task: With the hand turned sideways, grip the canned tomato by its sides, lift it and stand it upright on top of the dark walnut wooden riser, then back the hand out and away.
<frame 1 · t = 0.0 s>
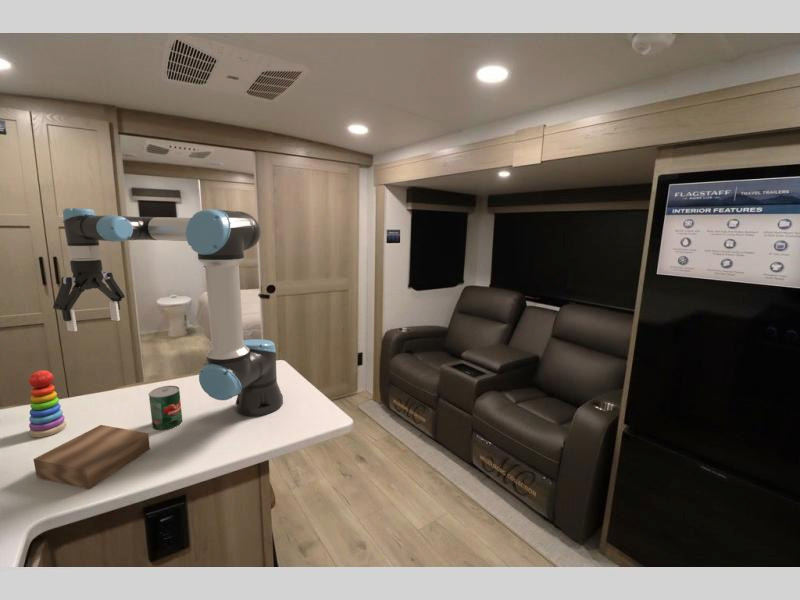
hand: (95, 325, 118), 28 cm above the table, tool pointing down, fingers open, 13 cm apart
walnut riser: (97, 462, 94), on the table
stacking toy: (48, 431, 108), on the table
canned tomato: (168, 424, 113), on the table
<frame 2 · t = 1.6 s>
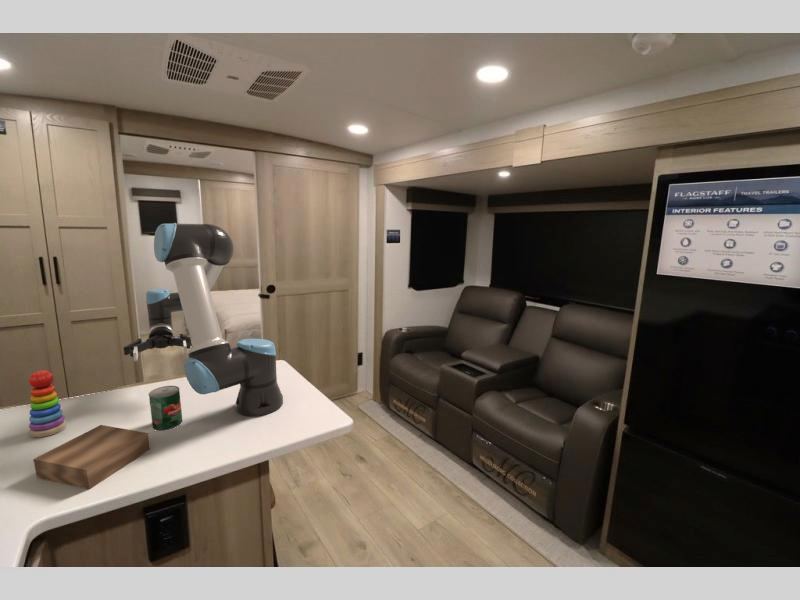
hand: (161, 353, 117), 20 cm above the table, tool horizontal, fingers open, 13 cm apart
nothing on the table moved.
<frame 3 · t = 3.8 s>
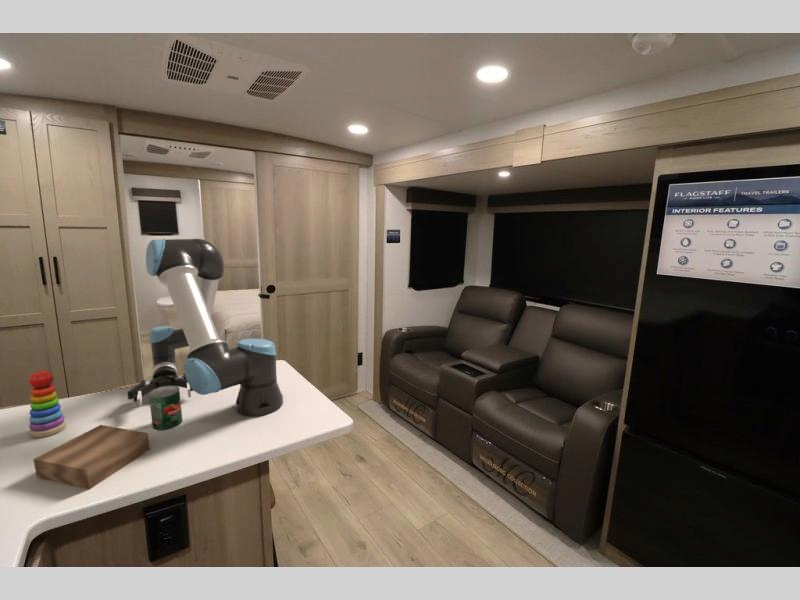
hand: (164, 398, 117), 6 cm above the table, tool horizontal, fingers open, 13 cm apart
nothing on the table moved.
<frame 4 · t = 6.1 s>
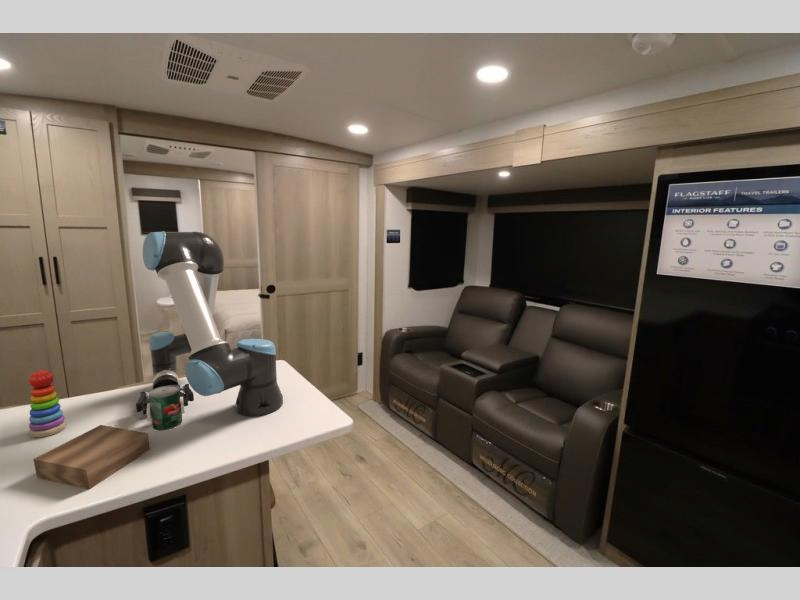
hand: (166, 412, 108), 6 cm above the table, tool horizontal, fingers closed on canned tomato, 8 cm apart
canned tomato: (168, 424, 113), on the table, touching gripper
everything else where it was.
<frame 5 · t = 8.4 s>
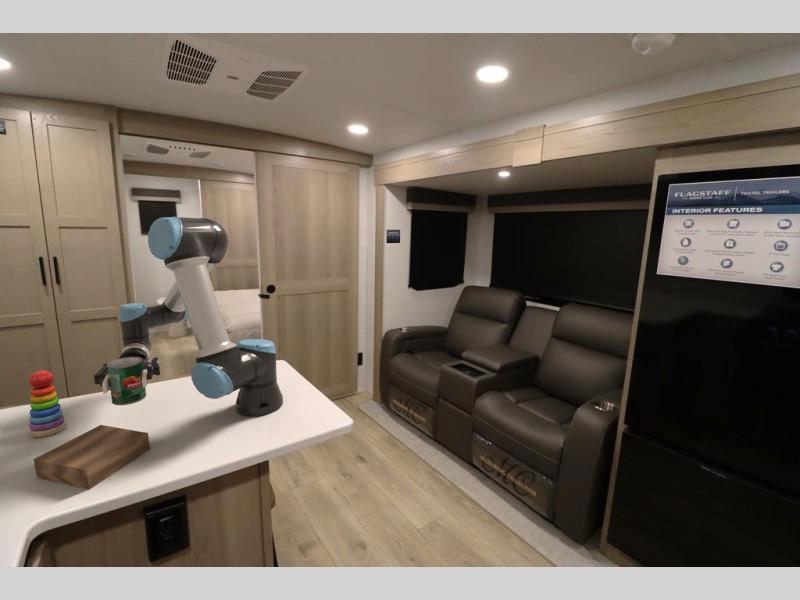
hand: (124, 385, 98), 18 cm above the table, tool horizontal, fingers closed on canned tomato, 8 cm apart
canned tomato: (129, 399, 103), point 12 cm above the table, touching gripper
everything else where it was.
when the fingers open (12 cm above the table, at t = 10.5 s): canned tomato drops 1 cm, resting on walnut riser.
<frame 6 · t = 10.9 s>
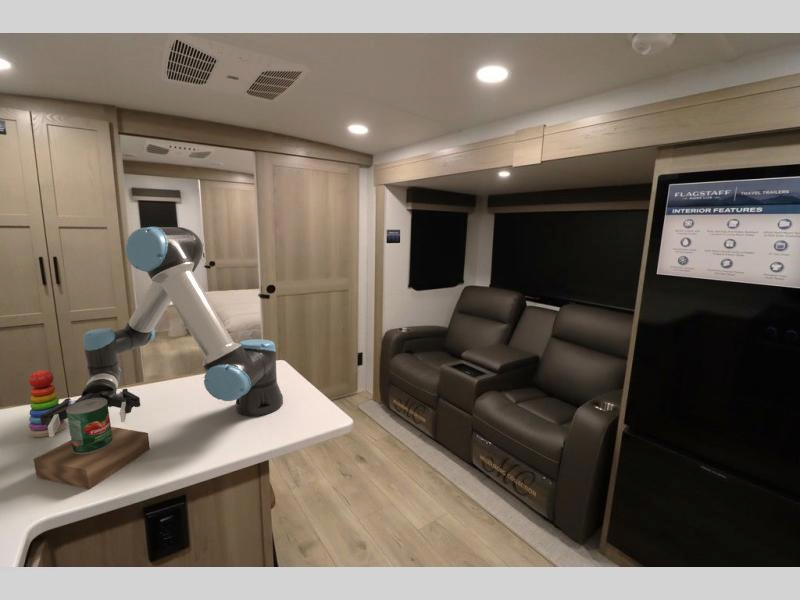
hand: (87, 424, 89), 12 cm above the table, tool horizontal, fingers open, 13 cm apart
canned tomato: (93, 445, 93), point 5 cm above the table, touching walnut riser
everything else where it was.
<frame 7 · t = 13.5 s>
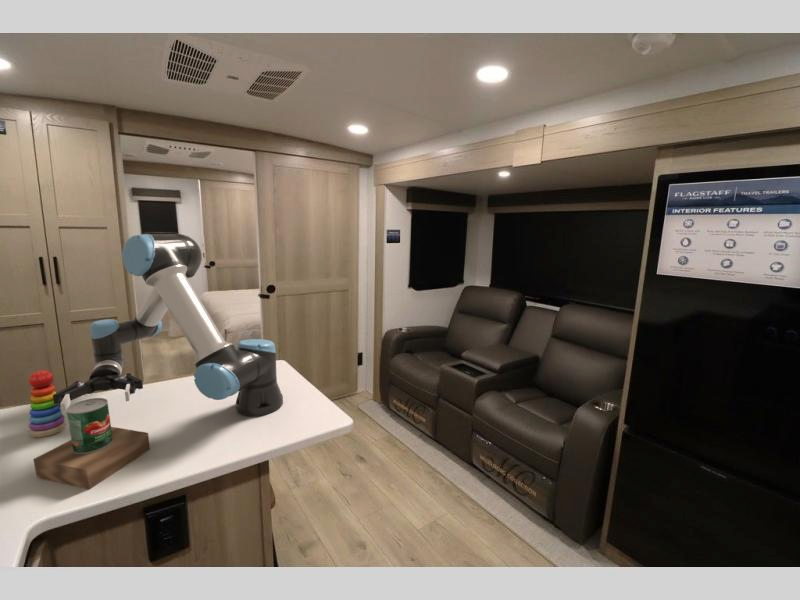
hand: (96, 402, 100), 13 cm above the table, tool horizontal, fingers open, 13 cm apart
nothing on the table moved.
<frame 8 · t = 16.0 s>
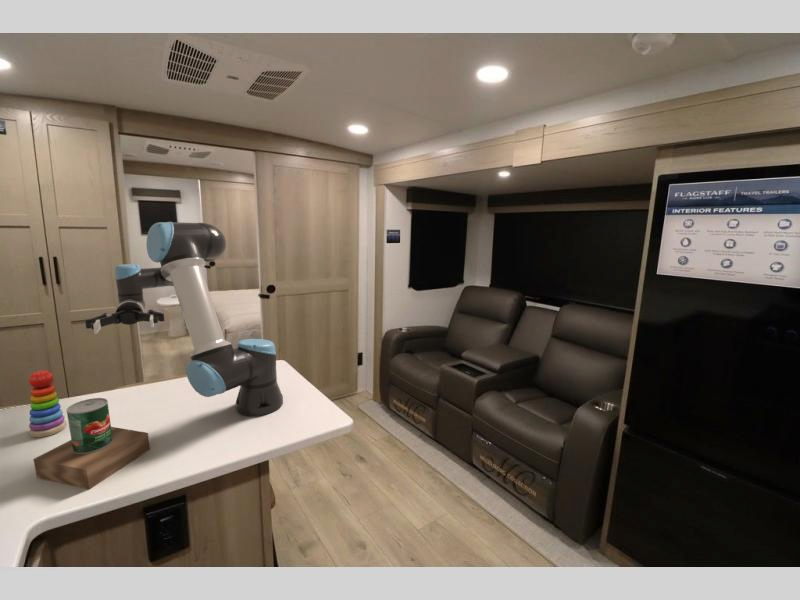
hand: (124, 326, 110), 30 cm above the table, tool horizontal, fingers open, 13 cm apart
nothing on the table moved.
at the end: canned tomato inside the target area on the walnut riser (0.2 cm from its centre), point 4.8 cm above the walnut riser's base; canned tomato tilted 0°; the gripper is holding nothing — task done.
